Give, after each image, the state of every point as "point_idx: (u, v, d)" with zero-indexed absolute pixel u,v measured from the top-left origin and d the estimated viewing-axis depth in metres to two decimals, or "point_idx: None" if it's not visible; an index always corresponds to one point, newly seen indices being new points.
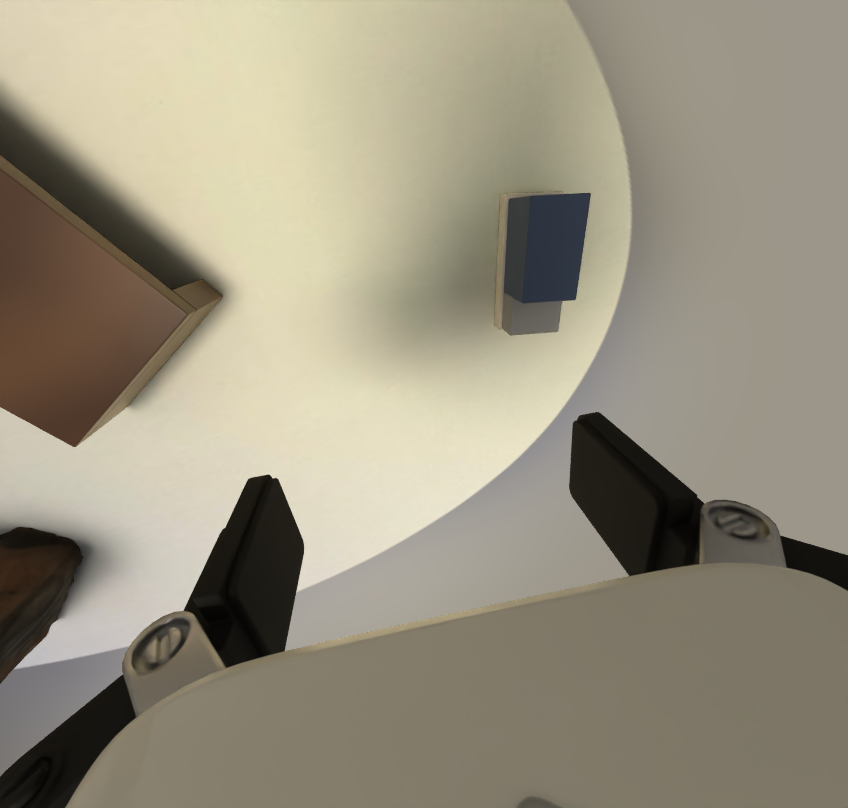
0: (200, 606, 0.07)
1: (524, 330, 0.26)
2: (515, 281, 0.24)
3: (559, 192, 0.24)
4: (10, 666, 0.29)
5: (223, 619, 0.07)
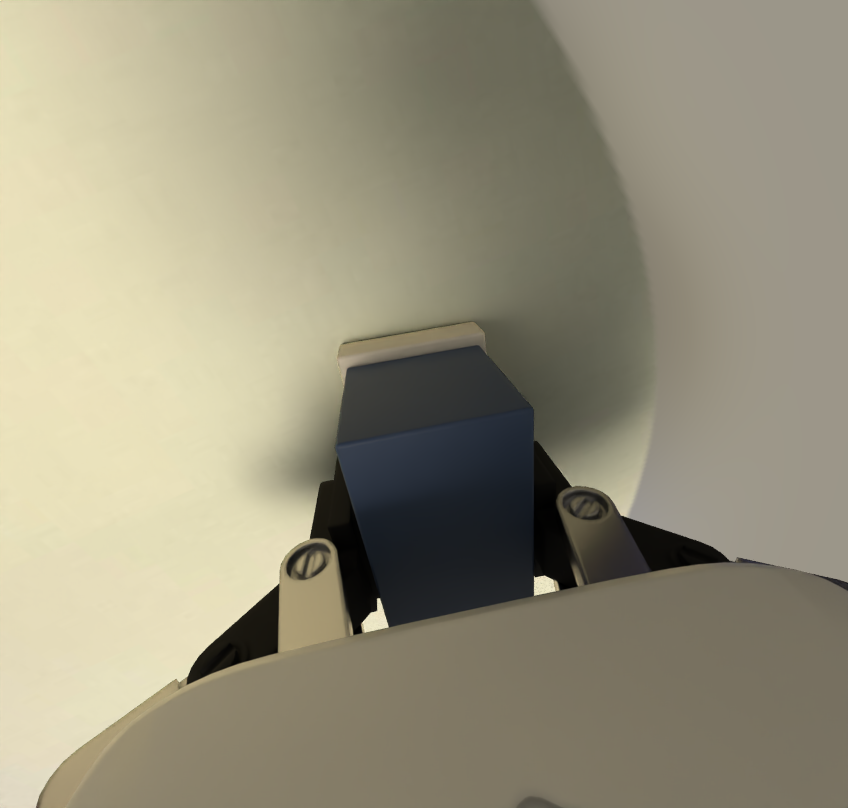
0: (333, 534, 0.08)
1: None
2: None
3: (473, 335, 0.10)
4: None
5: (349, 547, 0.09)
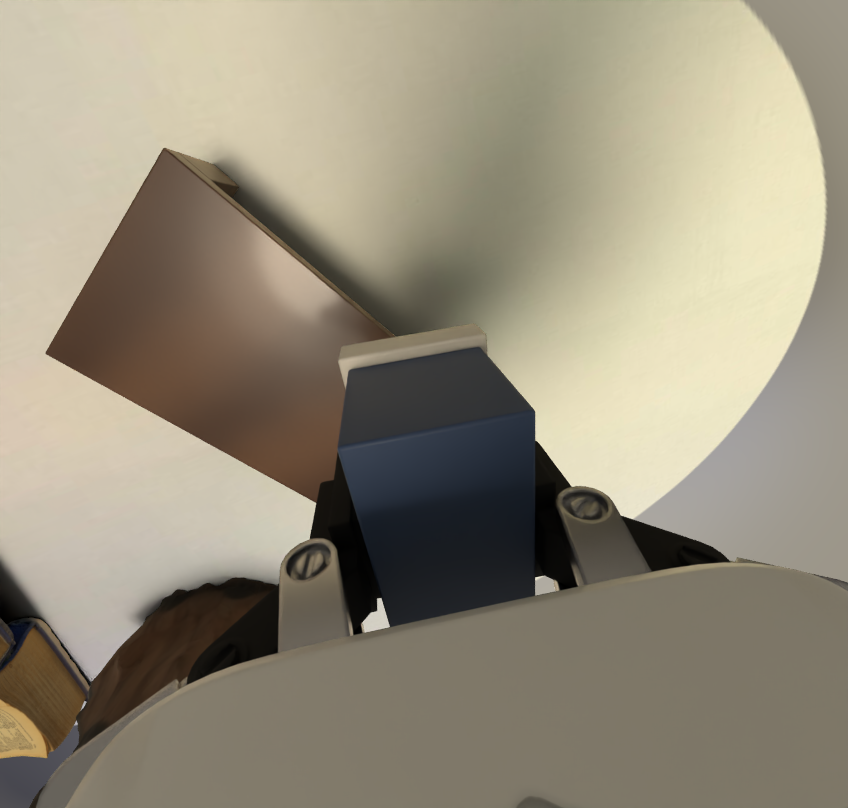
0: (332, 534, 0.08)
1: None
2: None
3: (474, 337, 0.10)
4: None
5: (349, 547, 0.09)
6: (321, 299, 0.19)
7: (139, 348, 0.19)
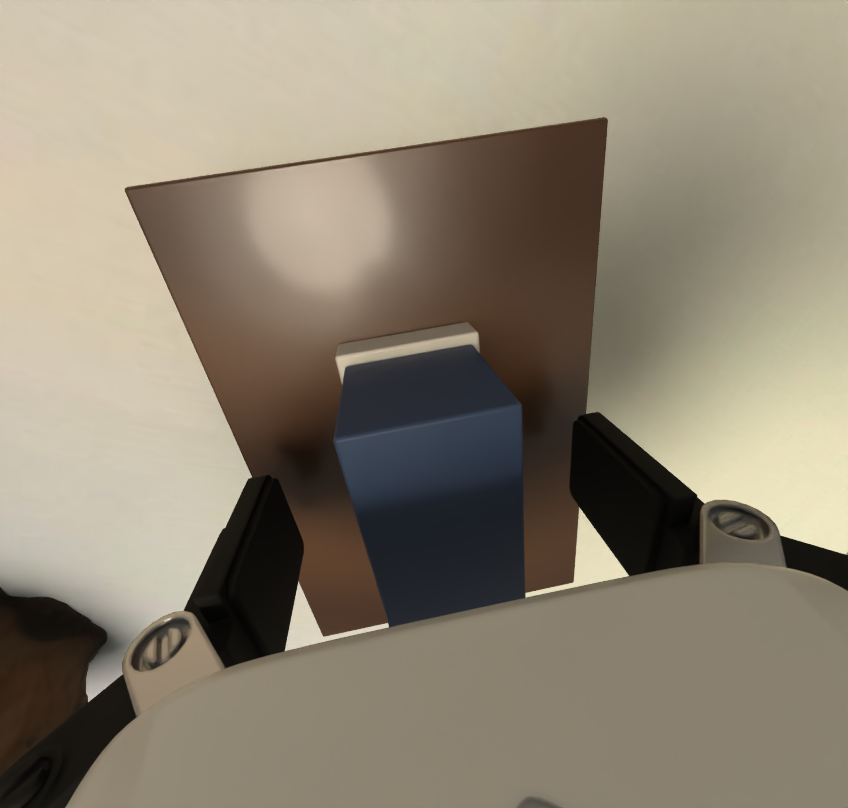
0: (200, 606, 0.07)
1: None
2: None
3: (467, 335, 0.10)
4: None
5: (223, 619, 0.07)
6: (564, 415, 0.13)
7: (294, 302, 0.10)
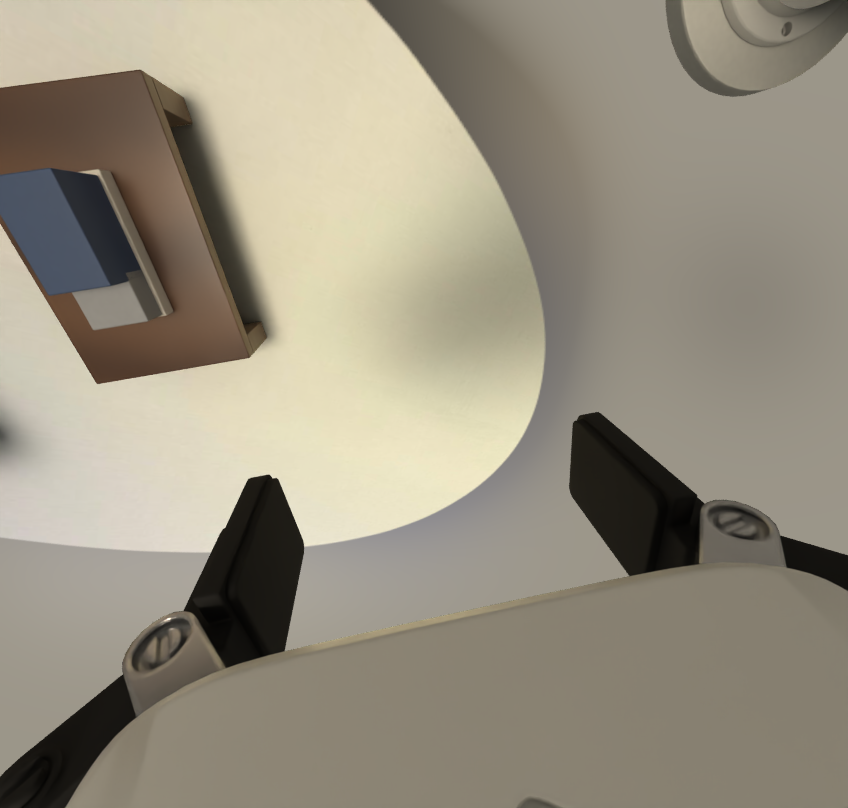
0: (200, 606, 0.07)
1: (106, 323, 0.24)
2: None
3: (94, 170, 0.22)
4: None
5: (223, 619, 0.07)
6: (189, 232, 0.25)
7: (17, 156, 0.23)
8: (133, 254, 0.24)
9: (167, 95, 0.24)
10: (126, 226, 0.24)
